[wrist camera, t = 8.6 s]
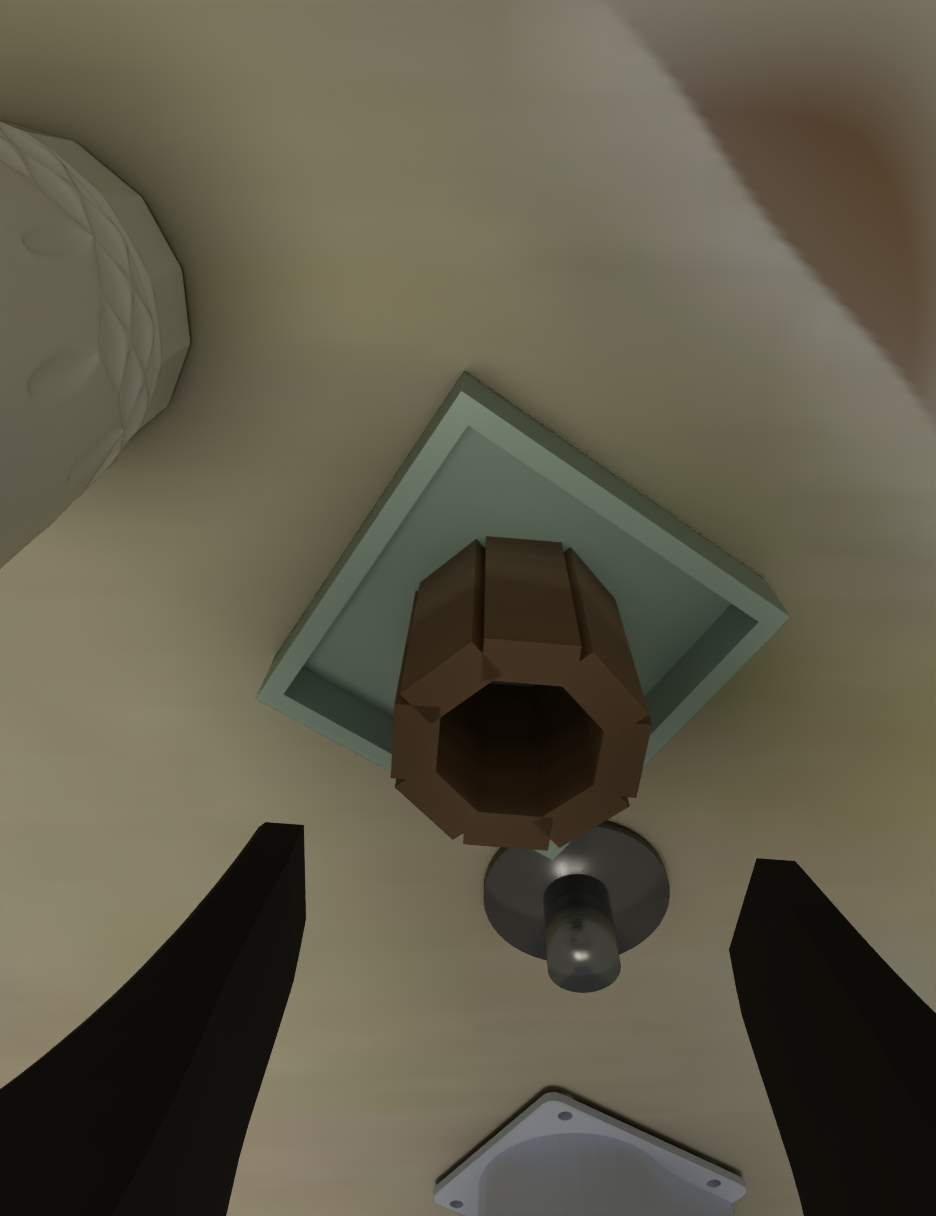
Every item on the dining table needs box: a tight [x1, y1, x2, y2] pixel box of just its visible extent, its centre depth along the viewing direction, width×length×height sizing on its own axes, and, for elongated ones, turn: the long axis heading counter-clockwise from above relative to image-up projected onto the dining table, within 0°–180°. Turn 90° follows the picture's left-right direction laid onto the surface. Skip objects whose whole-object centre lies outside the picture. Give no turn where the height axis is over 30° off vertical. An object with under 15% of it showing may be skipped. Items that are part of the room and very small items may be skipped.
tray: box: [256, 371, 790, 860], centre depth 20 cm, size 9×9×2 cm
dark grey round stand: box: [484, 821, 670, 993], centre depth 24 cm, size 6×6×3 cm
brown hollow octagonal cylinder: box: [391, 536, 652, 851], centre depth 19 cm, size 6×5×5 cm
